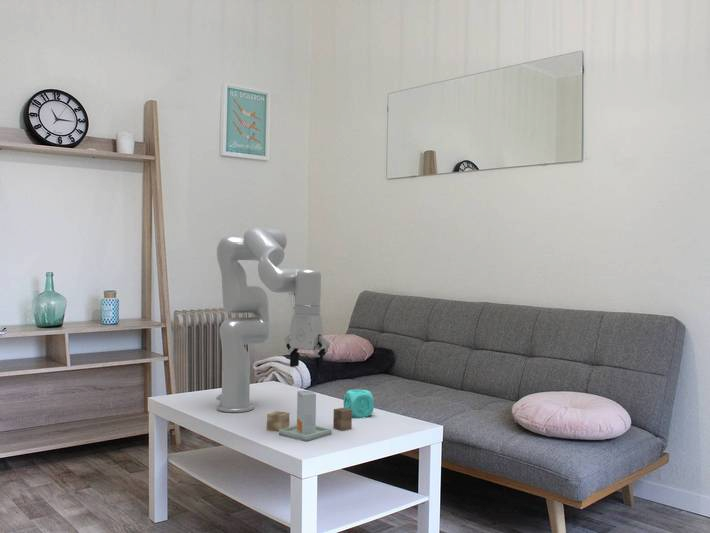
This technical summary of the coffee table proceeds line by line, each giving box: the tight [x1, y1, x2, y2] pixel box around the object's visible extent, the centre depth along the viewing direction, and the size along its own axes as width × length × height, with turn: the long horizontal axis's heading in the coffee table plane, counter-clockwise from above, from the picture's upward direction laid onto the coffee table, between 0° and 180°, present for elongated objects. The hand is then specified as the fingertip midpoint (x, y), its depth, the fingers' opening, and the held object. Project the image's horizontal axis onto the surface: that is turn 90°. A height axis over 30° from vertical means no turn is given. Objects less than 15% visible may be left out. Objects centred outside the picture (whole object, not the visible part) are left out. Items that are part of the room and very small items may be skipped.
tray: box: [278, 424, 333, 442], centre depth 200 cm, size 11×11×2 cm
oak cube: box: [266, 410, 290, 433], centre depth 206 cm, size 5×5×5 cm
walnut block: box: [332, 407, 353, 432], centre depth 208 cm, size 4×4×6 cm
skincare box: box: [296, 389, 317, 435], centre depth 200 cm, size 6×4×12 cm
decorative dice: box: [343, 389, 375, 419], centre depth 227 cm, size 8×8×8 cm
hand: (306, 368), depth 200 cm, fingers open, 9 cm apart
